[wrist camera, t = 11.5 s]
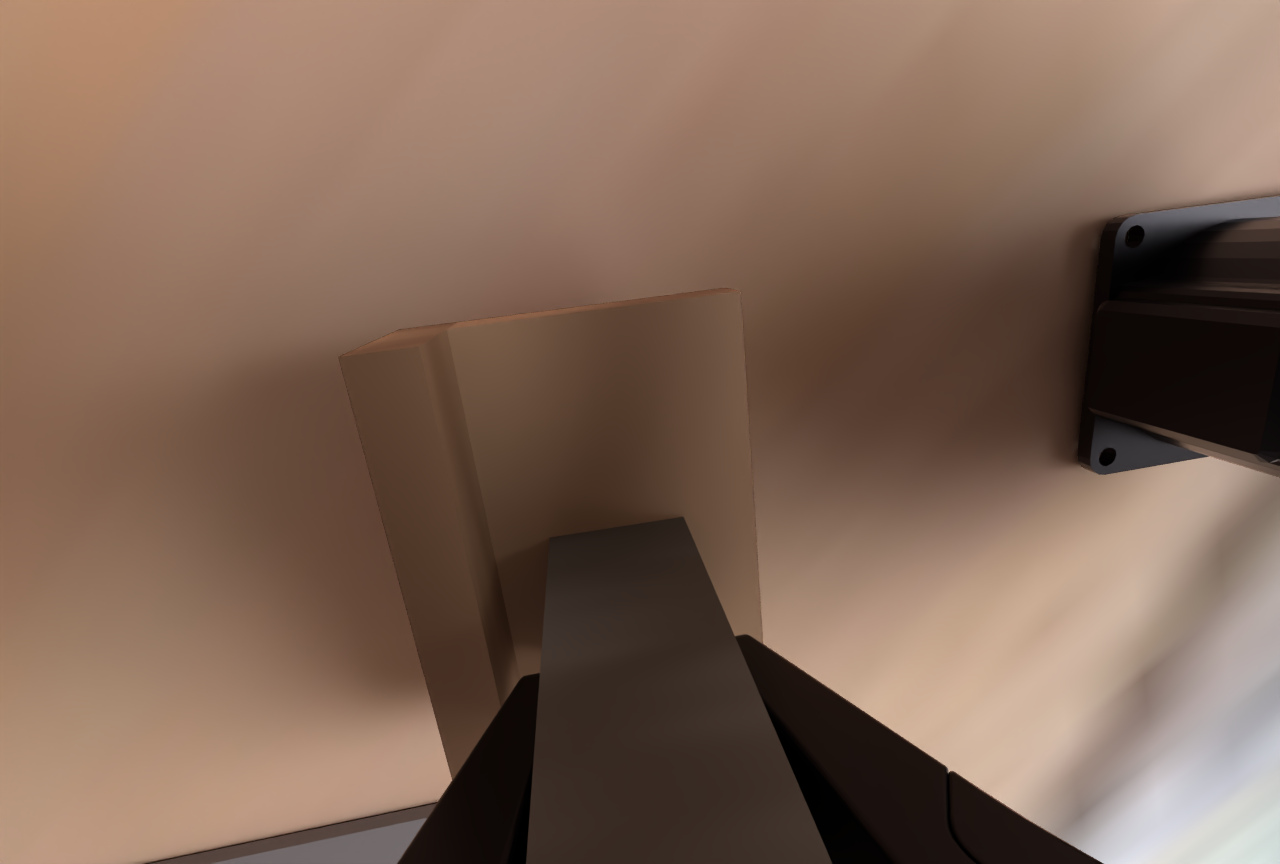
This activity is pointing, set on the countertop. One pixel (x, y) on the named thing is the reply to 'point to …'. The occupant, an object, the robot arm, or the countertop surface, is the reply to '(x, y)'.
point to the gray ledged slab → (327, 843)
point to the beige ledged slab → (590, 567)
